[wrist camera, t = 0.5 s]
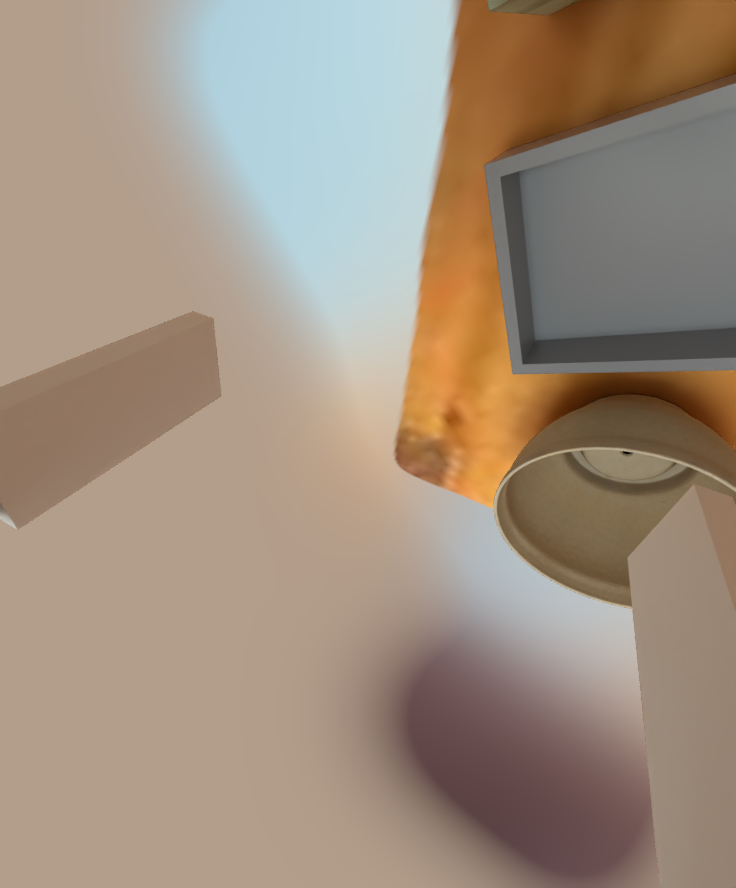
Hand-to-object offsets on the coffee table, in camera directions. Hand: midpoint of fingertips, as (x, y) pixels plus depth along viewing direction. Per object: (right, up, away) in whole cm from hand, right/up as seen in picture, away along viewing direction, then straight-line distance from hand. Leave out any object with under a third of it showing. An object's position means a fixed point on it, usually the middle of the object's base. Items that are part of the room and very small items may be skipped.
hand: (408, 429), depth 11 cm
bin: (+18, +12, +12) cm, 25 cm away
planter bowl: (+21, 0, +23) cm, 31 cm away
